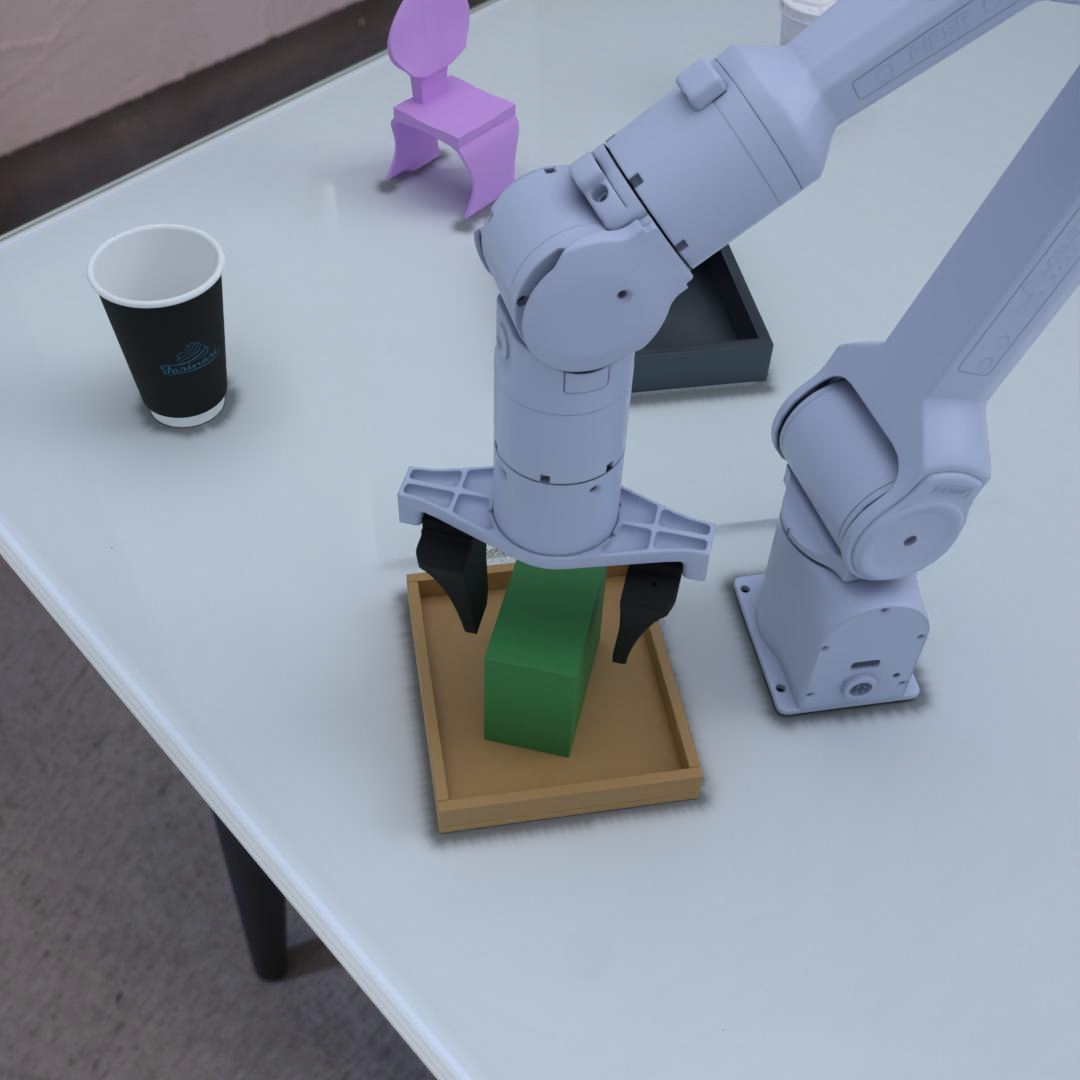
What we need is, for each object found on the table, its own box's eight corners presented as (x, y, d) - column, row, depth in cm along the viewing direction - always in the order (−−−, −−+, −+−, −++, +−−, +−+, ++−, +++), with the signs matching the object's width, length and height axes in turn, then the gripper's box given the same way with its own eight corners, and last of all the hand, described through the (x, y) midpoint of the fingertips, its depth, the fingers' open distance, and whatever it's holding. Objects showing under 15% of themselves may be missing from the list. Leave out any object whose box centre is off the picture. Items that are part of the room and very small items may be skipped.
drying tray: (698, 798, 66) (703, 776, 65) (439, 833, 65) (438, 811, 63) (634, 572, 76) (637, 548, 75) (407, 598, 75) (406, 573, 73)
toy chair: (459, 236, 98) (455, 46, 87) (373, 191, 102) (360, 3, 90) (529, 189, 103) (534, 2, 91) (445, 148, 106) (440, -36, 95)
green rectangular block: (599, 638, 72) (608, 554, 67) (568, 758, 67) (576, 677, 62) (520, 621, 73) (523, 537, 68) (483, 739, 68) (483, 657, 62)
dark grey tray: (764, 388, 88) (774, 344, 85) (564, 407, 86) (567, 362, 83) (706, 251, 98) (712, 207, 95) (526, 264, 96) (527, 220, 93)
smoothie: (749, 93, 114) (776, -71, 103) (816, 83, 115) (849, -79, 105) (780, 131, 109) (811, -36, 99) (849, 121, 111) (886, -44, 100)
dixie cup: (165, 350, 88) (132, 210, 80) (271, 379, 87) (248, 239, 78) (100, 425, 83) (58, 284, 75) (211, 457, 82) (180, 317, 73)
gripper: (738, 407, 58) (701, 601, 68) (424, 351, 60) (433, 548, 70) (716, 520, 54) (679, 710, 64) (376, 456, 55) (393, 650, 66)
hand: (548, 633), depth 67 cm, fingers open, 7 cm apart
